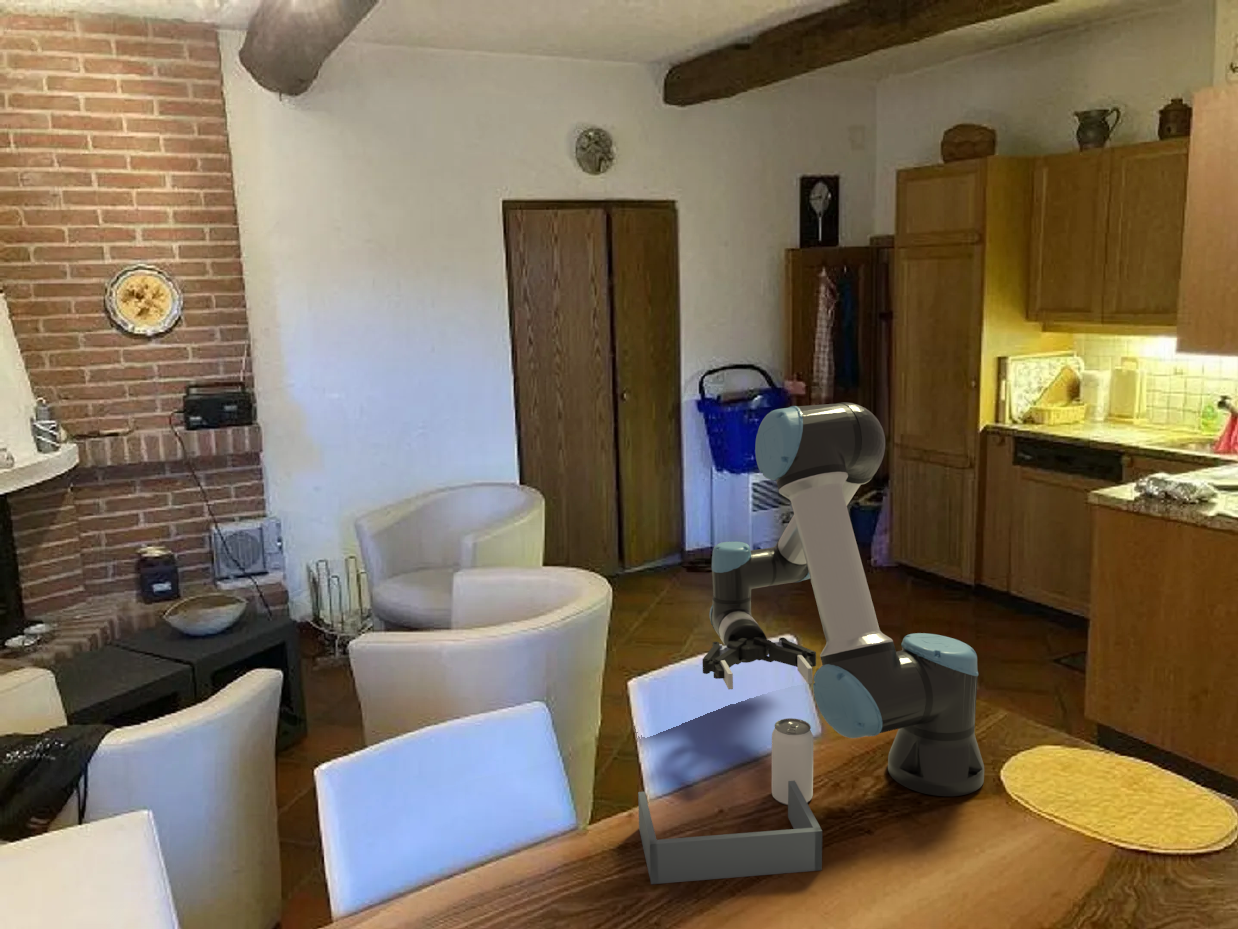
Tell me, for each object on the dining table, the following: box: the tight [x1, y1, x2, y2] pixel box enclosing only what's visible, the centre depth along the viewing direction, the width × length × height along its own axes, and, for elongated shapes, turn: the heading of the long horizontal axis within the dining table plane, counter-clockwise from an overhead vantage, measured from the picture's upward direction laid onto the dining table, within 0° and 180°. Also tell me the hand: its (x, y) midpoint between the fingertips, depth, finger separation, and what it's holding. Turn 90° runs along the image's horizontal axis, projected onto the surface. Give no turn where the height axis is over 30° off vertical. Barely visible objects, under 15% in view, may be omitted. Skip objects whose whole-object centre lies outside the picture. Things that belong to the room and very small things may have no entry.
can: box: [771, 717, 814, 806], centre depth 155 cm, size 6×6×12 cm
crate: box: [637, 781, 823, 885], centre depth 142 cm, size 14×24×6 cm, turn 96°
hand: (770, 679), depth 165 cm, fingers open, 13 cm apart
